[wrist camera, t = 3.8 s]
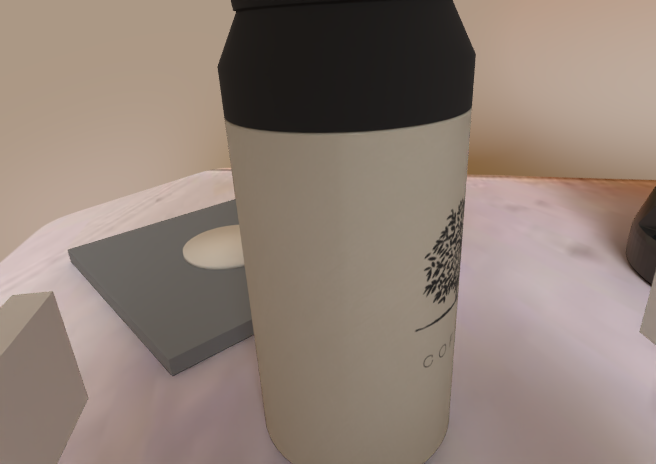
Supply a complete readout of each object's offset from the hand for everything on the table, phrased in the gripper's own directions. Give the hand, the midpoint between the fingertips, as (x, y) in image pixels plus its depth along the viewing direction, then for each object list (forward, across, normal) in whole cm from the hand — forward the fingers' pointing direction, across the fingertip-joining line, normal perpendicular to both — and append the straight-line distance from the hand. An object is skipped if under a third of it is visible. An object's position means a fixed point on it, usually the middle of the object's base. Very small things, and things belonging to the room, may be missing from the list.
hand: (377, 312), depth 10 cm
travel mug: (+7, 0, -10) cm, 12 cm away
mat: (+23, -6, -10) cm, 26 cm away
